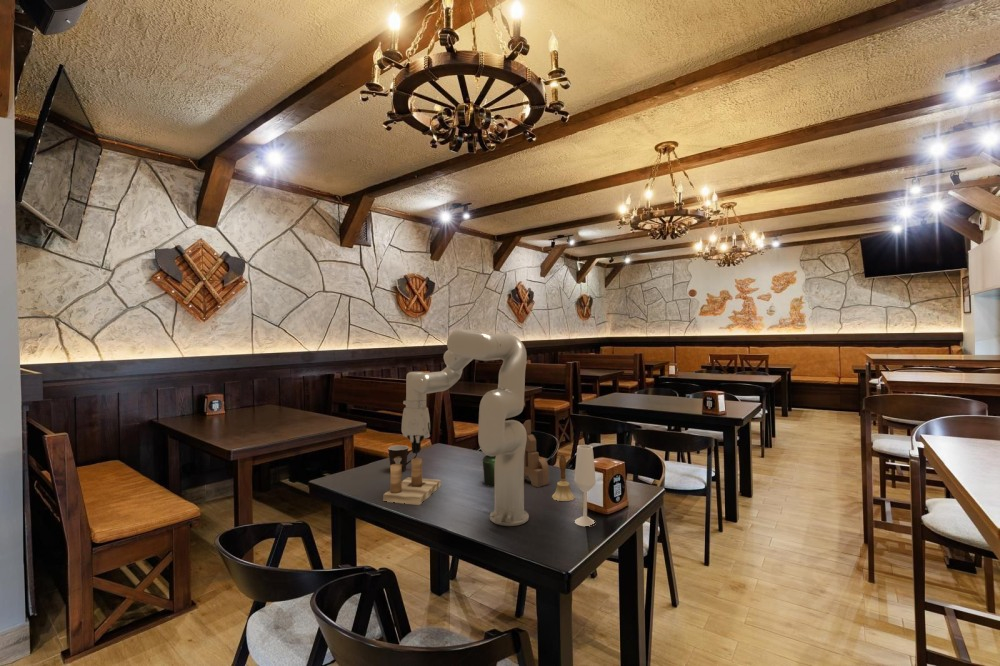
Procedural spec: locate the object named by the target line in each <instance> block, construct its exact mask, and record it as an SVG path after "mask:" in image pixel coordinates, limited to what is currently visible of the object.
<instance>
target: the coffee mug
mask: <svg viewBox="0 0 1000 666" xmlns="http://www.w3.org/2000/svg"><path fill="white" fill-rule="evenodd" d="M387 450H388V459H389V466H390V465H392V464H401V465H402V473H404V472H406V471H407V470H406V469H407V466H408V464H410V463H411V460H412V459H414V458H417V456H418V453H417V454H415V455H414V457H413V458H412V459H410V460H408V456H409V454H410V453H411V452H413V450H412V449H410V450H409V446H408V445H403V444H401V445H400V444H397V445H391V446H389V447H388V448H387ZM407 460H408V461H407ZM405 470H406V471H405Z"/></svg>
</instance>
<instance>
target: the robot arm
mask: <svg viewBox="0 0 1000 666" xmlns="http://www.w3.org/2000/svg"><path fill="white" fill-rule="evenodd" d="M446 346H447V350H446V351H445V352H444V353H443V361H444V362H443V363H445V365H446V367H444V368H443V369H442V370H441V371H431V372H424V371H409V372H408V373H406V381H405V382H406V383H405V385H406V386H405V387H406V388H405V389H406V392H405V393H406V395H405V396H406V397H405V400H403V402H402V403H403V405H405V407H404V408H403V411H402V418H401V433H402V436H403V437H405V438H406V439H408V440H409V441H410V443H411V450H413V451H412V454H415V455H416V454H417V455H418V453H420V452H421V450H422V448H421V447H422V446H421V445H422V444H421V442H422V441H424V439H429V438H430V437H431V434H430V432H431V420H430V412H429V408H428V407H427V394H433V393H437V392H438V393H439V392H445V391H447V390H449V389H450V388H452V387H453V386H454V385H455V384H456V383H457V382H458V381H459V380H460V379H461V378H462V374H463V370H464V368H465V367H466V366H467V365H469V364H470V362H472V361H473V360H478V361H486V362H487V361H497V360H502V361H503V362H502V365H500V369H499V372H498V383H497V388H496V389H492V390H489V391H487V392H486V393H485V394H484V395H483V396H482V398H481V400H480V403H479V409H478V410H479V411H478V428H477V429H478V430H477V431H478V435H477V437H478V445H479V448H480V450H481V451H482V452H483V454H484V455H485V456H486V455H488V456H496V458H495V486H494V510H493V511H491V512H490V514H489V520H490V521H491V522H492V523H494V524H495V525H498V526H504V527H515V526H520V525H523V524H525V523H527V522H528V521H529V519H530V518H529V517H530V516H529V513H528V512H527V510H525V480H524V454H525V447H526V441H527V434H526V430H525V427H524V426H523V423H521V422H520V421H518V420H515V419H510V418H513V417H516V416H519V415H520V414H521V413H522V412H523V410H524V405H525V390H526V389H525V386H526V385H525V383H526V380H525V379H526V368H527V359H528V358H527V357H528V355H527V349H526V346H525V345H524V343H523V342H522V340H520V338H518V337H517V336H515V335H514V334H513V335H512V334H511V333H483V332H481V331H480V330H476V329H456V330H455V331H452V332H451V333H450V334H449V336H448V338H447V340H446ZM507 419H508V420H507Z"/></svg>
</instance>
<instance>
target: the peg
mask: <svg viewBox="0 0 1000 666" xmlns="http://www.w3.org/2000/svg"><path fill="white" fill-rule="evenodd" d="M413 458H414V457H413ZM413 458H412V459H410V460H411V462H410V463H411V475H410V478H411V487H421V486H422V479H423V458H421V457H416V458H414V459H413Z"/></svg>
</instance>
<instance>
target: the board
mask: <svg viewBox="0 0 1000 666" xmlns="http://www.w3.org/2000/svg"><path fill="white" fill-rule="evenodd" d="M389 467H390V468H389V470H390V480H389V481H390V485H389V487H390V489H389V490H387V491H386V492H385V493H383V495H382V501H387V502H386V503H393V502H395V503H394V504H402V505H415V506H416V505H417V506H420V505H421V504H423V503H424V502H425V501H426V500H427V499H428V498H429V497H431V496H432V495H433V494H434V493H435V492H436V491H437V490H438V489H440V488H441V487H440V486H441V479H434V478H432V479H430V478H422V486H421V487H411V477H405V479H403V480H402V476H403V475H402V473H403V472H402V465H401V464H392V465H390V464H389ZM432 493H433V494H432ZM431 494H432V495H431ZM423 501H424V502H423ZM422 502H423V503H422ZM404 503H405V504H404Z"/></svg>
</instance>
